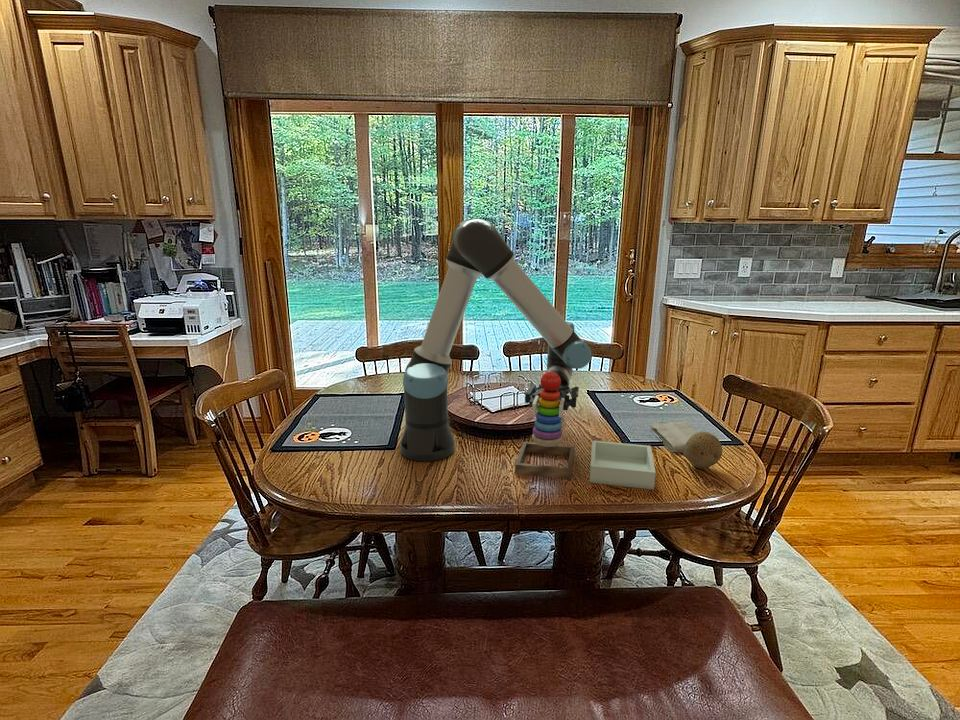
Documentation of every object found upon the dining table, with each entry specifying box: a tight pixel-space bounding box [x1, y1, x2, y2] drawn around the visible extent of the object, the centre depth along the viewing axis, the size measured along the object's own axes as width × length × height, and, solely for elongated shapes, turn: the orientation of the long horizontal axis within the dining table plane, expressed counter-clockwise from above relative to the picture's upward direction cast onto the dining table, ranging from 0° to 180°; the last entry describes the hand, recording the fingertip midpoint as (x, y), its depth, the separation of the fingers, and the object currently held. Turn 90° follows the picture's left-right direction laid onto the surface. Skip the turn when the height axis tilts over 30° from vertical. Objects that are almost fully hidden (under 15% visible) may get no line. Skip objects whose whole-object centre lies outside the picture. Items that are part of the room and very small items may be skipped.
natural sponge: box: [683, 431, 723, 470], centre depth 130 cm, size 9×9×10 cm
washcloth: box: [649, 421, 698, 454], centre depth 149 cm, size 12×18×3 cm, turn 4°
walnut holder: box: [514, 441, 576, 480], centre depth 134 cm, size 14×14×2 cm
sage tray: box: [589, 440, 656, 491], centre depth 129 cm, size 15×15×4 cm
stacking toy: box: [531, 372, 564, 447], centre depth 130 cm, size 8×8×19 cm
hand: (547, 410), depth 125 cm, fingers closed on stacking toy, 6 cm apart
